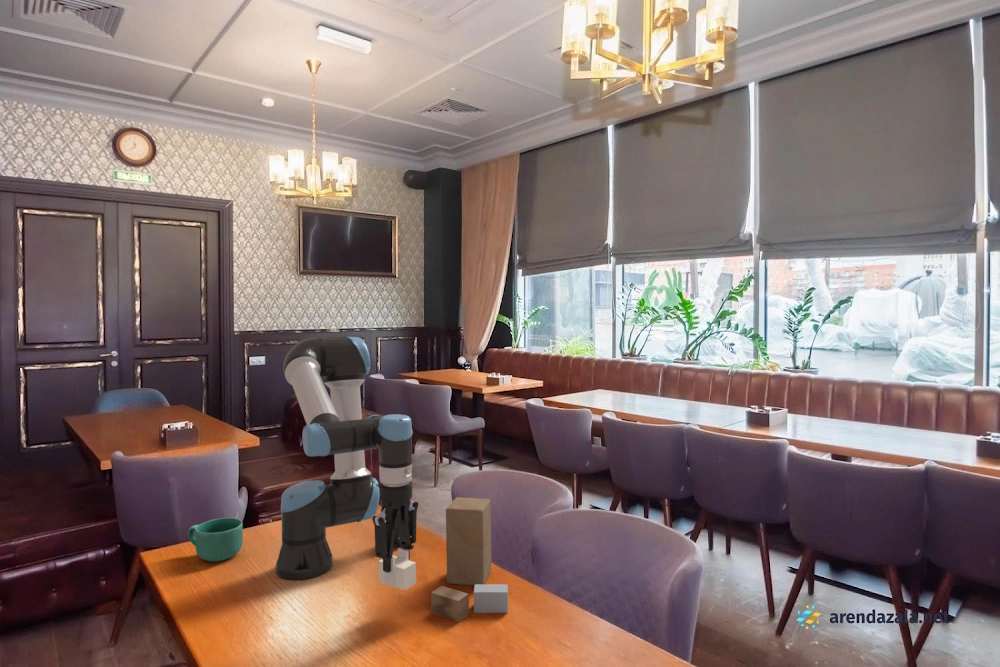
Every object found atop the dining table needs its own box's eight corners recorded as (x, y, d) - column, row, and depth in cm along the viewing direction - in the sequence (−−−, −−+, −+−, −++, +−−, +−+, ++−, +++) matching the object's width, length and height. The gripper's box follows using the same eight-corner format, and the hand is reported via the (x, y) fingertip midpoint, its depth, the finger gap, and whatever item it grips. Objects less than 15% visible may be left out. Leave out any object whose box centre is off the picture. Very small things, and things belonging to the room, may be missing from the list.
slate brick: (473, 613, 137) (473, 592, 137) (475, 604, 141) (474, 584, 141) (507, 613, 137) (507, 592, 137) (508, 604, 141) (507, 584, 141)
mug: (252, 551, 175) (252, 520, 174) (220, 568, 163) (219, 535, 162) (209, 544, 180) (209, 514, 180) (175, 561, 168) (174, 528, 168)
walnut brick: (431, 613, 137) (431, 592, 137) (441, 606, 141) (441, 585, 140) (458, 622, 133) (458, 600, 133) (469, 614, 136) (468, 593, 136)
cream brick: (379, 581, 137) (378, 560, 136) (391, 575, 140) (390, 554, 140) (404, 590, 132) (404, 569, 132) (416, 583, 136) (415, 562, 135)
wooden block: (483, 587, 150) (482, 510, 149) (446, 584, 152) (445, 508, 151) (491, 570, 160) (490, 498, 159) (456, 567, 162) (455, 496, 161)
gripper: (382, 495, 126) (383, 600, 127) (431, 475, 140) (432, 569, 142) (357, 489, 130) (358, 591, 131) (407, 470, 144) (408, 562, 146)
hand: (396, 579), depth 136 cm, fingers closed on cream brick, 4 cm apart
